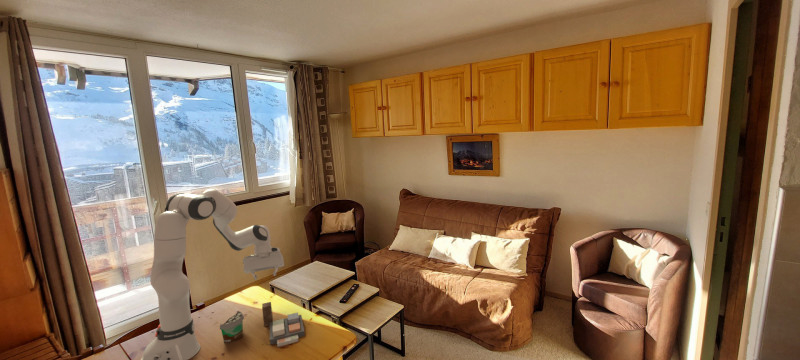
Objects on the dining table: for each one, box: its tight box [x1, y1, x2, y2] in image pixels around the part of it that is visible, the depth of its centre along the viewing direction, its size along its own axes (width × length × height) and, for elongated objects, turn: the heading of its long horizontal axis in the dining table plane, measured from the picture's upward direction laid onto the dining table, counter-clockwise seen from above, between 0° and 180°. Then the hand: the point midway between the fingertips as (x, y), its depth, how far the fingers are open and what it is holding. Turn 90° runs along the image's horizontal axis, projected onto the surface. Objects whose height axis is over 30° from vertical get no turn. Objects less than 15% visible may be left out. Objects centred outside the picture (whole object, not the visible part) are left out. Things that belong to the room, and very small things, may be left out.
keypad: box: [269, 314, 306, 348], centre depth 154 cm, size 15×18×2 cm
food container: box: [219, 310, 245, 344], centre depth 152 cm, size 12×6×10 cm, turn 168°
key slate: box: [287, 312, 300, 325], centre depth 160 cm, size 5×5×2 cm
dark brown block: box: [261, 301, 274, 327], centre depth 163 cm, size 4×4×10 cm
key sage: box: [273, 318, 285, 326], centre depth 157 cm, size 5×5×2 cm
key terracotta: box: [289, 323, 301, 333], centre depth 153 cm, size 5×5×2 cm
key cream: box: [273, 323, 285, 337], centre depth 151 cm, size 5×5×2 cm
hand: (265, 277), depth 172 cm, fingers open, 8 cm apart
